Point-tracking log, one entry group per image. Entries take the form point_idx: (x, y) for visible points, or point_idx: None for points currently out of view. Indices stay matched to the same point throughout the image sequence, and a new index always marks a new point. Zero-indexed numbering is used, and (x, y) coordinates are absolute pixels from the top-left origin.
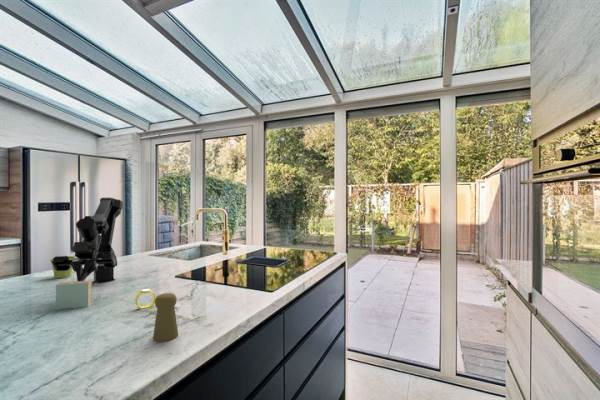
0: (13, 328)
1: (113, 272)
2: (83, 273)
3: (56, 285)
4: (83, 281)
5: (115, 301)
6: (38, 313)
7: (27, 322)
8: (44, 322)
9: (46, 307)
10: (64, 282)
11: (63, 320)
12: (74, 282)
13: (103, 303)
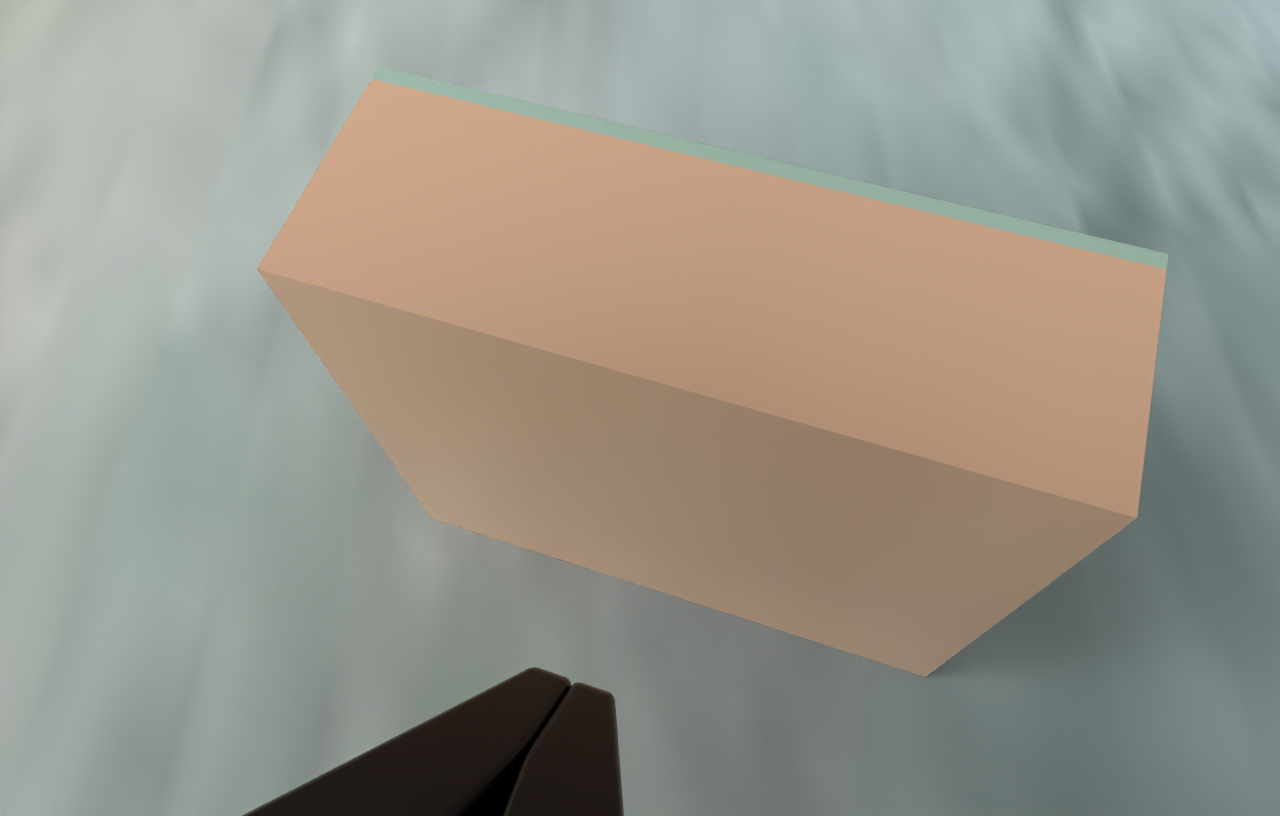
0: (1271, 28)
1: None
2: (327, 806)
3: (1146, 265)
4: (464, 261)
5: (87, 415)
6: (1183, 453)
7: (1190, 140)
8: (983, 46)
9: (1162, 770)
10: (988, 446)
11: (788, 7)
12: (697, 272)
13: (267, 414)
